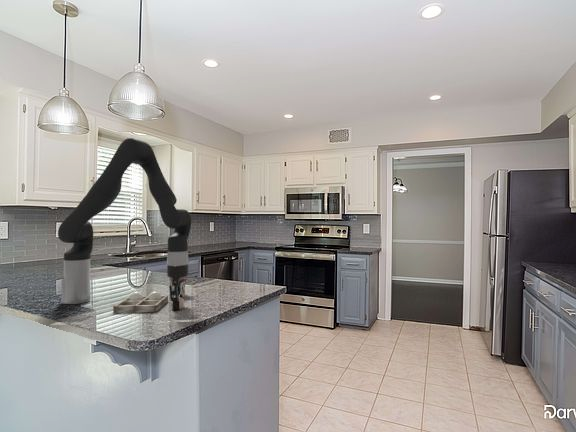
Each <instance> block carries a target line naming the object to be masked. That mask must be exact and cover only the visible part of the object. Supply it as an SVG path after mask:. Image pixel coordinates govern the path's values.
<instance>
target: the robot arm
mask: <svg viewBox="0 0 576 432" xmlns="http://www.w3.org/2000/svg"><path fill="white" fill-rule="evenodd" d="M155 154H156V153H154V150H153V147H152V146H151V145H150V144H149V143H148V142H146V141H143V140H140V139H137V138H133V137H128V138H125V139H124V140H122V142H121V143H120V144H119V146H118V147H117V149H116V151H115V153H114V154H113V156H112V157H111V159H110V161H109V163H108V165H107V166H106V167H105V168H104V170H103V172H102V173H101V175H100V176H98V177H99V178H97V180H96V181H95V182H94V183H93V184H92V186H91V188H90V189H89V190H88V192H86V193H87V194H86V195H85V196H84V197H83V198H82V200H80V202H79V204H78V205H77V206H76V207H75V208H74V210H72V211H71V212H70V213H69V214H68V216H67V217H66V218H65V219H64V220H63V221H62V222H61V224H60V225H59V227H58V230H57V237H58V239H59V240H60V241H61V242H62V243H65V244H73V245H72V247H70V249H69V250H67V251H65V252H64V253H63V278H62V279H61V282H60V283H61V285H60V286H61V291H60V292H61V302H60V303H61V304H65V305H77V304H85V303H87V302H89V301H91V300H92V299H91V294H92V293H91V287H92V286H91V281H92V279H91V254H92V252H93V246H94V228H93V225H92V223H91V222H90V220H91V219H93V218H94V217H95V216H97V215H98V214H100V213H101V212H103V211H105V210H106V209H107V208H109V207H110V206H111V205H112V204H113V203H114V201H116V199H117V197H118V196H119V195H120V193H121V190H122V183H123V182H122V180H123V176H124V174H125V172H126V170H127V169H128V168H129V167H130V166H131V165H132V164H135V165H138V166H140V167H141V168H142V170H143V171H144V172H145V174H146V177H147V181H148V188H149V192H150V193H151V196H152V198H153V199H154V202H155V203H156V204H157V205H158V210H159V214H160V216H161V220H162V222H163V223H164V225H165V226H166V227H167V228H169V229H174V231H173V234H172V235H170V236H168V238H167V256H166V277H168V278H170V277H172V278H173V279H172V282H171V281H170V285H169V287H168V288H169V297H170V299H169V300H170V302H172V301H173V308H172V311H173V312H174V311H175V312H176V311H177V312H179V311H180V309H179V300H180V297H181V298H182V299H183V300H184V296H185V291H186V290H185V288H186V283H185V278H184V279H183V277H186V276H187V277H188V276H189V248H188V247H189V246H188V243H189V242H188V239H189V237H190V232H191V228H192V216H191V213H190V212H189V210H187V209H183V208H181V209H180V208H179V209H178V208H176V206H175V205H176V204H177V196H176V195H175V194H174V192H173V190H172V188H171V187H170V185H169V183H168V182H167V180H166V178H165V176H164V173H163V172H162V169H161V166H160V165H159V162H158V160H157V157H156V155H155Z"/></svg>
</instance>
